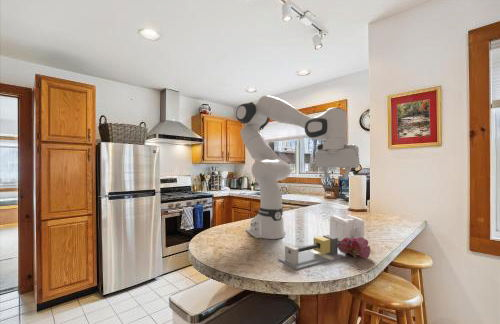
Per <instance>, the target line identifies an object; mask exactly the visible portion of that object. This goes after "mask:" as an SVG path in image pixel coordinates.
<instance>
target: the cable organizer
mask: <svg viewBox="0 0 500 324" xmlns="http://www.w3.org/2000/svg"><path fill="white" fill-rule="evenodd" d="M329 235H330V236H334V237H337V238H338V242H339V241H342V240H343V239H344V238H349V239H352V238H359V237H363V238H364V239H365V221H364V220H363V219H362V218H360V217H357V216H353V215H351V214H345V215H344V218H343V217H339V216H337V215H330V216H329Z"/></svg>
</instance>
